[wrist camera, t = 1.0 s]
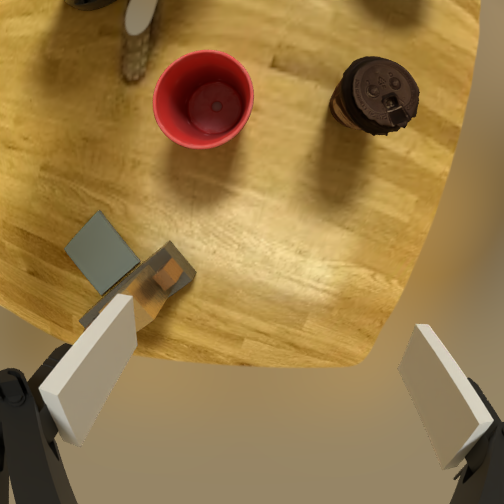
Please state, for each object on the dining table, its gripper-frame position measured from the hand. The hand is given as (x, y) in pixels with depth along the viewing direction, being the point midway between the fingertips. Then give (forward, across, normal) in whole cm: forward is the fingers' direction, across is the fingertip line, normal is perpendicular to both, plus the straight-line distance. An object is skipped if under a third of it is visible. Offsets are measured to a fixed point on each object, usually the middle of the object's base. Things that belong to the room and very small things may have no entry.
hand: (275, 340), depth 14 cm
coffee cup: (+30, +9, +15) cm, 35 cm away
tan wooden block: (+27, -16, -13) cm, 34 cm away
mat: (+30, -26, -10) cm, 41 cm away
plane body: (+30, -20, -16) cm, 39 cm away
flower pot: (+30, -8, +12) cm, 34 cm away
